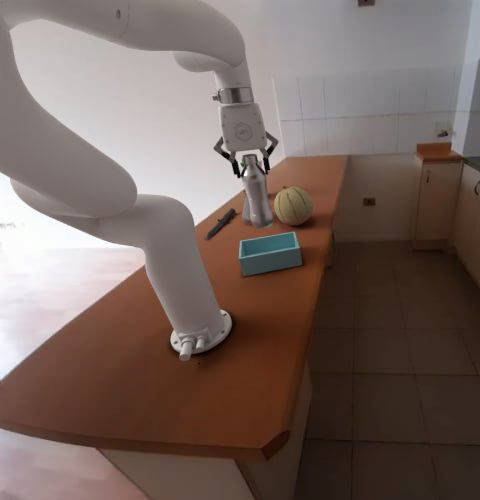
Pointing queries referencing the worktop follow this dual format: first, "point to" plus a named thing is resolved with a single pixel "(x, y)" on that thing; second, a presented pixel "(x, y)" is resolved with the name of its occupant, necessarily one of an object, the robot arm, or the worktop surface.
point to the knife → (221, 222)
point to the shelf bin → (269, 253)
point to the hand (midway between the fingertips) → (253, 174)
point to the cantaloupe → (293, 205)
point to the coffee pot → (246, 210)
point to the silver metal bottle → (256, 192)
